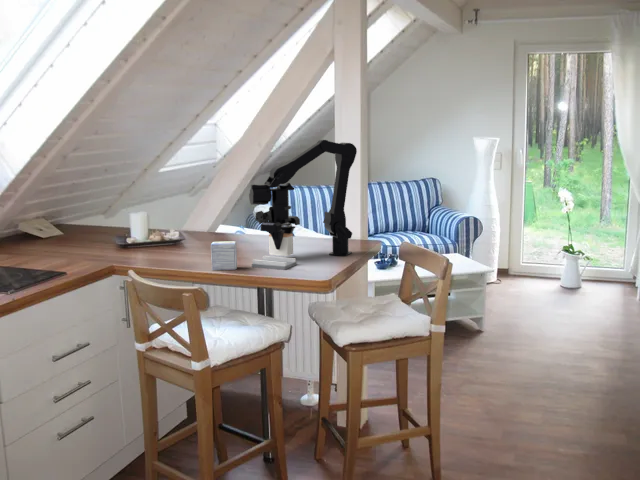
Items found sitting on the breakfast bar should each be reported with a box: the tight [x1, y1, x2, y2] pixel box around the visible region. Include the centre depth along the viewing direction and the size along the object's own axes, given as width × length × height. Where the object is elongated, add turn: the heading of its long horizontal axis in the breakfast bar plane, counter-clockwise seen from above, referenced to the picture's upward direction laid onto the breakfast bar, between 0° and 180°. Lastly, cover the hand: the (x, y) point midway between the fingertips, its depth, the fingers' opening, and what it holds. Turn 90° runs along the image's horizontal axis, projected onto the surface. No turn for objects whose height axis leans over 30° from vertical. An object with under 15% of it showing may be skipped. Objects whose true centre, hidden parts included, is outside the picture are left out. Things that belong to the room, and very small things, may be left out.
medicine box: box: [210, 240, 238, 271], centre depth 220 cm, size 8×4×9 cm, turn 92°
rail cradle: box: [251, 255, 298, 271], centre depth 224 cm, size 9×12×2 cm
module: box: [268, 233, 294, 257], centre depth 235 cm, size 4×7×7 cm, turn 66°
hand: (281, 248), depth 235 cm, fingers closed on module, 4 cm apart
